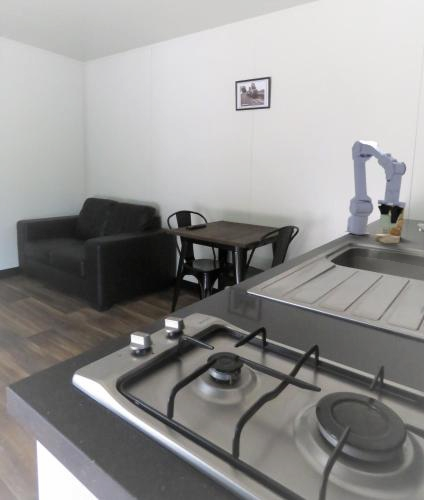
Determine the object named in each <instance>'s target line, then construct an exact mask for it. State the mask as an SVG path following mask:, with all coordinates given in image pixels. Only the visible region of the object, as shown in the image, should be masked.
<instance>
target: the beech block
mask: <svg viewBox="0 0 424 500" xmlns="http://www.w3.org/2000/svg"><path fill="white" fill-rule="evenodd" d="M400 238H401V237H398V236H394V235H390V234H382V233H380V234H379V233H376V234H375V233H374V241H375V240H376V242H380V243H382V242H383V243H382V244H399V243H400Z"/></svg>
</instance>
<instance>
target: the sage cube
mask: <svg viewBox="0 0 424 500" xmlns="http://www.w3.org/2000/svg"><path fill="white" fill-rule="evenodd" d="M397 222H398V219H397ZM397 222H396V223H394V224H392V223H391V215H390V214H388V215H381V214H380V216H379V224H378V225H379V226H378V227H382V228H383V227H386V228H395V227H397Z"/></svg>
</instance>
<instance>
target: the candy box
mask: <svg viewBox="0 0 424 500" xmlns="http://www.w3.org/2000/svg"><path fill="white" fill-rule="evenodd" d="M391 205H393V204H391ZM392 207H394V206H392ZM402 208H404V210H403V211H402V212H401V214H400V215H399V217H398V222H397V227H395V228H386V227H382V232H381V234H390V235H394V236H398V237H400V238H402V232H403V223H404V217H405V216H404V215H405V208H406V206H405V207H402ZM389 214H390V215H391V211H389Z"/></svg>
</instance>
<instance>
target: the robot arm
mask: <svg viewBox="0 0 424 500" xmlns="http://www.w3.org/2000/svg"><path fill="white" fill-rule="evenodd" d="M351 153H352V154H351V155H352V156H351V158H352V161H353V177H354V196H353V197H351V199H350V201H349V202H350V203H349V208H348V210H349V214H350V216H349V217H348V219H347V226H346V230H345V231H344V232H346V233H349V234H354V235H358V236H359V235H360V236H361V235H371V232H367V230H368V223H369V217H370V215H371V214H372V213H373V210H374V204H373V202H372V201H373V200H372V198H371V197H370V196H369V195H368V189H367V176H366V175H367V171H366V170H367V169H366V162H367V161H370V159H372V157H374V158H376V160H377V163H378V165H379V166H381V167H382V169H384V174H385V180H386V184H385V192H384V198H383V199H378V200H377V205H378V206H377V207H378V210H379V212H380V215H388V214H389V211H391V223H392V224H394V223H396V222H397V219H398V217H399V215H400V214H401V212H402V211H403V210H404V211H405V208H406V203H407V202H403V201H400V196H401V195H400V194H401V185H402V179H403V176H404V175H406V174H405V173H406V171H407V164H405V162H404V161H399V160H398V159H397V158H395V157H393V155H392V153H390V152H384V151H383V150H382V149H381V148H380V147H379V143H377V142H376V141H374V140H373V141H369V140H368V141H367V140H366V141H364V140H355V142H354V143H353V145H352V147H351ZM391 204H393V205H391ZM392 206H394V207H392ZM402 207H405V208H402Z"/></svg>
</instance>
